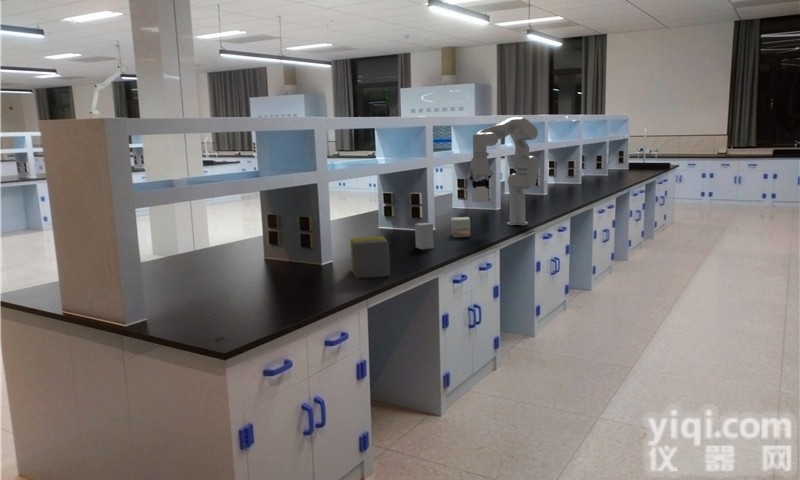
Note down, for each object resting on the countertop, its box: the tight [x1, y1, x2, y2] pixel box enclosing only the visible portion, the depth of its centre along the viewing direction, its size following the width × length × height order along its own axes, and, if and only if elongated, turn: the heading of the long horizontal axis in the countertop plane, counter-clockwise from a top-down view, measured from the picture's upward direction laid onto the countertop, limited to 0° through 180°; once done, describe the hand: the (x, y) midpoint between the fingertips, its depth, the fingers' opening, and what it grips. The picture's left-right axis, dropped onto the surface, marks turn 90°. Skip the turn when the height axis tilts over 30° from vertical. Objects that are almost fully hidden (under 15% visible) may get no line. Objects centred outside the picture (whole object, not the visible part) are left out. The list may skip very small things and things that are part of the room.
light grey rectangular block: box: [471, 179, 490, 203], centre depth 347 cm, size 7×7×12 cm
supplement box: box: [414, 222, 435, 250], centre depth 316 cm, size 7×7×13 cm
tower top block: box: [450, 216, 471, 230], centre depth 348 cm, size 10×10×5 cm
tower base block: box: [451, 227, 471, 238], centre depth 349 cm, size 10×10×5 cm
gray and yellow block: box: [350, 235, 391, 280], centre depth 268 cm, size 15×24×15 cm, turn 9°
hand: (480, 187), depth 347 cm, fingers closed on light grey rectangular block, 6 cm apart
